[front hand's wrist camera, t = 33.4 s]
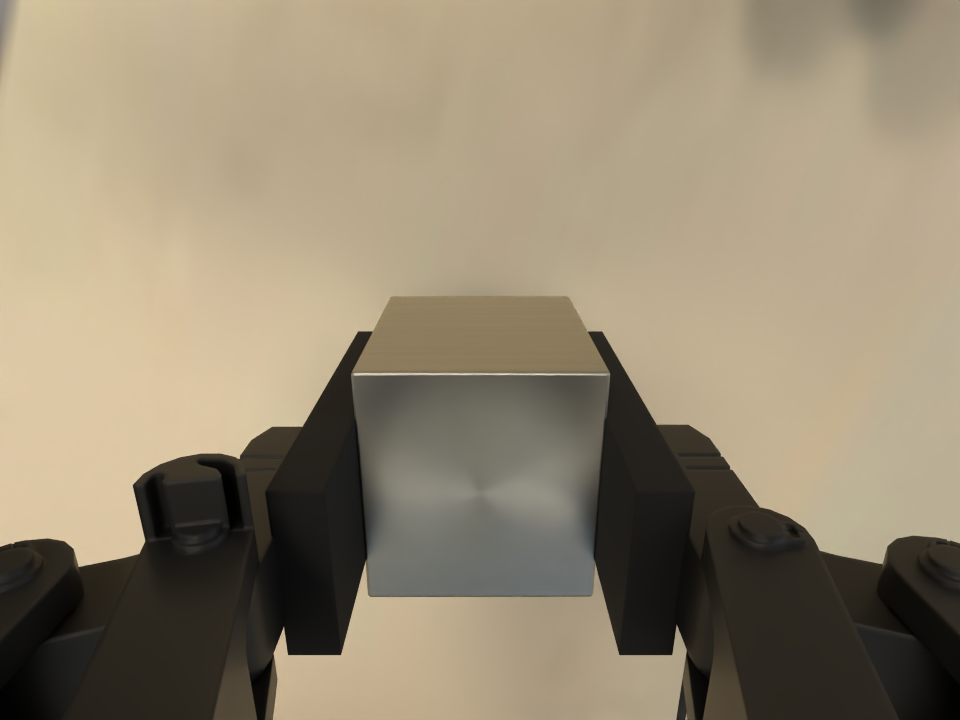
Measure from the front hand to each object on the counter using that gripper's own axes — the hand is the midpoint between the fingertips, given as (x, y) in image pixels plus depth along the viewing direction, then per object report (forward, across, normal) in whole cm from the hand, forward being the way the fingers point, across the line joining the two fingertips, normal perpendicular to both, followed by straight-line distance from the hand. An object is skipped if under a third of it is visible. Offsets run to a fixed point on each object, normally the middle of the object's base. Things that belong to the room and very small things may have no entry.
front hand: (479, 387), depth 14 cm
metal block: (0, 0, 0) cm, 0 cm away
